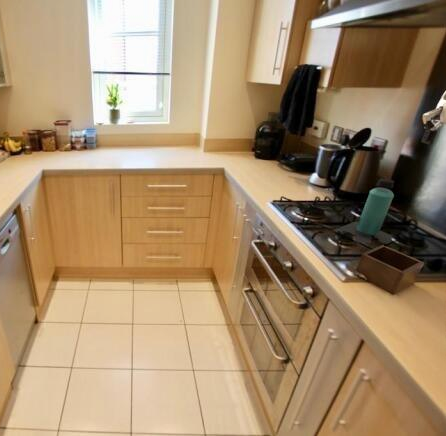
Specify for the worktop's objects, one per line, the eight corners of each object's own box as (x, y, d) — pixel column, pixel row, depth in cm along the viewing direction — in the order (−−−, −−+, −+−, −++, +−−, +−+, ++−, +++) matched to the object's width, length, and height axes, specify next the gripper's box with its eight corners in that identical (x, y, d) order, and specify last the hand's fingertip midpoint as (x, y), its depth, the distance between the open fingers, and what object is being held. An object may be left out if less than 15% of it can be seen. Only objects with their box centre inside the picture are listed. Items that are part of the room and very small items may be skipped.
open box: (413, 283, 87) (424, 262, 84) (393, 294, 83) (404, 273, 80) (374, 264, 95) (382, 244, 92) (353, 273, 91) (362, 253, 88)
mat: (398, 239, 107) (399, 238, 106) (375, 250, 101) (375, 249, 101) (355, 222, 118) (356, 221, 118) (332, 231, 112) (332, 230, 112)
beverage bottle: (381, 239, 106) (405, 184, 96) (359, 238, 107) (381, 183, 98) (371, 230, 112) (393, 176, 102) (350, 228, 113) (370, 176, 103)
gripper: (450, 82, 83) (422, 146, 91) (521, 81, 82) (486, 146, 90) (427, 80, 89) (403, 140, 97) (492, 79, 88) (462, 140, 96)
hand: (443, 143), depth 94 cm, fingers open, 9 cm apart
